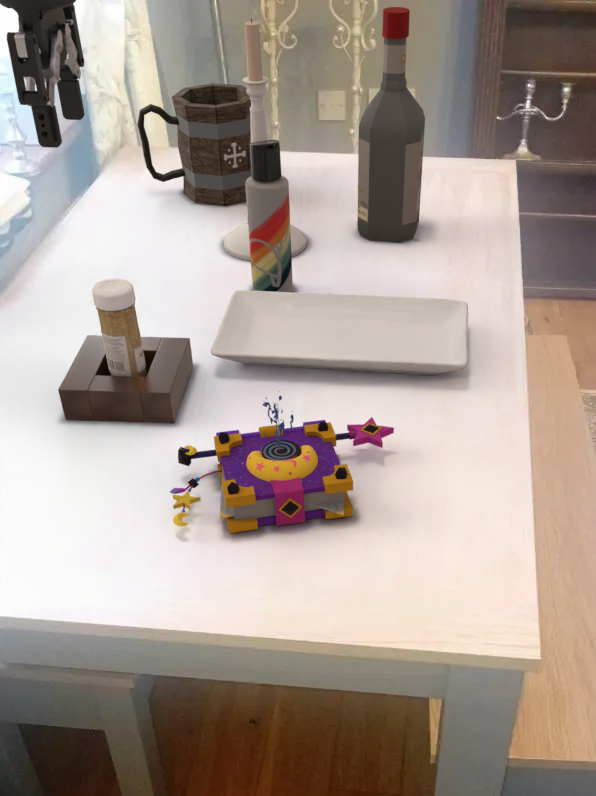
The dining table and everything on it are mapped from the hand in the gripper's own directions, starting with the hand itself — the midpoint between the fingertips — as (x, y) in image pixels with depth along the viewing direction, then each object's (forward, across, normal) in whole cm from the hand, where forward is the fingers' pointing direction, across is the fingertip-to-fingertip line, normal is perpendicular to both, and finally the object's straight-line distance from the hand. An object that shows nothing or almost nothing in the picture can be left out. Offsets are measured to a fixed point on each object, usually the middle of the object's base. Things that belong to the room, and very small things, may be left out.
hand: (63, 132), depth 94 cm
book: (+27, +24, +26) cm, 44 cm away
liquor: (+27, -44, +34) cm, 62 cm away
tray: (+27, -6, +30) cm, 41 cm away
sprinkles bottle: (+27, +6, +5) cm, 28 cm away
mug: (+28, -59, +2) cm, 65 cm away
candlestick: (+28, -38, +15) cm, 49 cm away
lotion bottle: (+27, -22, +18) cm, 40 cm away
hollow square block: (+27, +6, +5) cm, 28 cm away
